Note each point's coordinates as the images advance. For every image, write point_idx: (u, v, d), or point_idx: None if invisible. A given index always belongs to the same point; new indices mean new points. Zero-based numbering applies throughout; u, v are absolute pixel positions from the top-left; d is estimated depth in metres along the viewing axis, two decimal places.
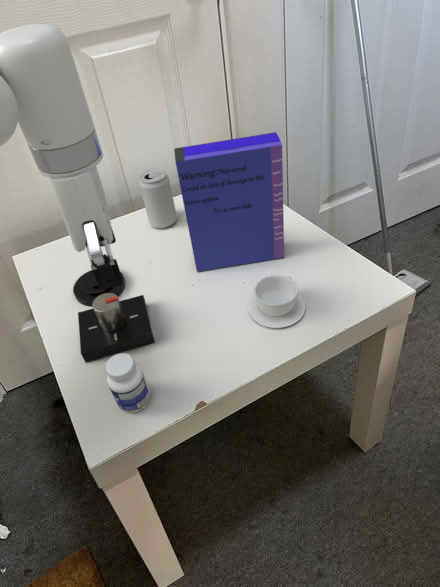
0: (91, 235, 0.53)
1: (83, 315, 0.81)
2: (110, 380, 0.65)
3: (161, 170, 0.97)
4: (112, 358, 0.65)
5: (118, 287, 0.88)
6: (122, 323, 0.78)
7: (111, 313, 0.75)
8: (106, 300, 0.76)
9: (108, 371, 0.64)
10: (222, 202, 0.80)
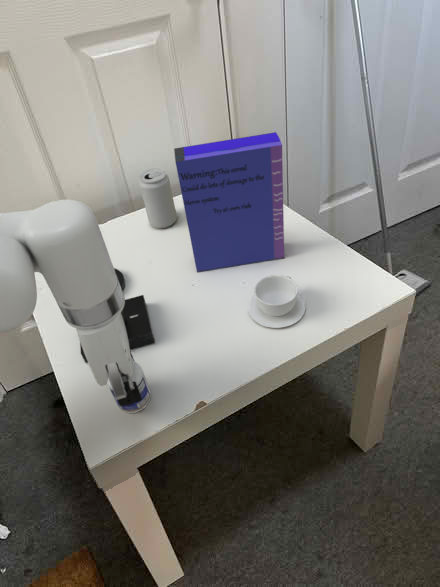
0: (115, 379, 0.57)
1: None
2: None
3: (161, 170, 0.97)
4: None
5: None
6: None
7: None
8: None
9: None
10: (222, 202, 0.80)
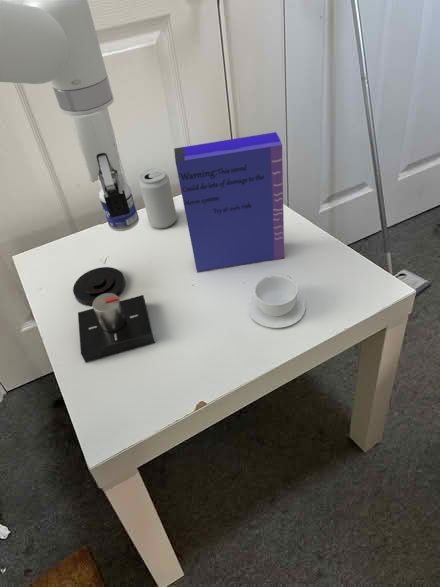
0: (105, 170, 0.65)
1: (83, 315, 0.81)
2: (102, 193, 0.73)
3: (161, 170, 0.97)
4: None
5: (118, 287, 0.88)
6: (122, 323, 0.78)
7: (111, 313, 0.75)
8: (106, 300, 0.76)
9: (100, 181, 0.72)
10: (222, 202, 0.80)
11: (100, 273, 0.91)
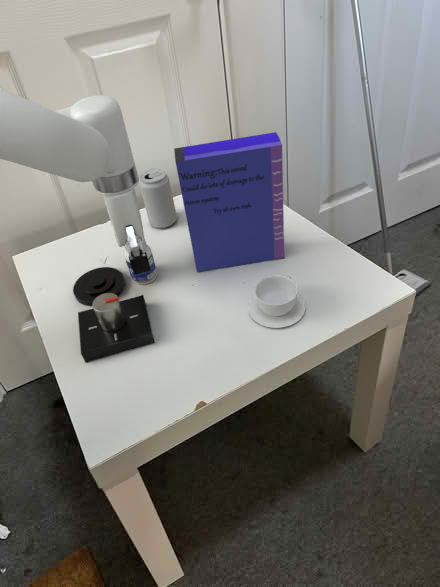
0: (131, 235, 0.76)
1: (83, 315, 0.81)
2: (127, 254, 0.86)
3: (161, 170, 0.97)
4: None
5: (118, 287, 0.88)
6: (122, 323, 0.78)
7: (111, 313, 0.75)
8: (106, 300, 0.76)
9: None
10: (222, 202, 0.80)
11: (100, 273, 0.91)
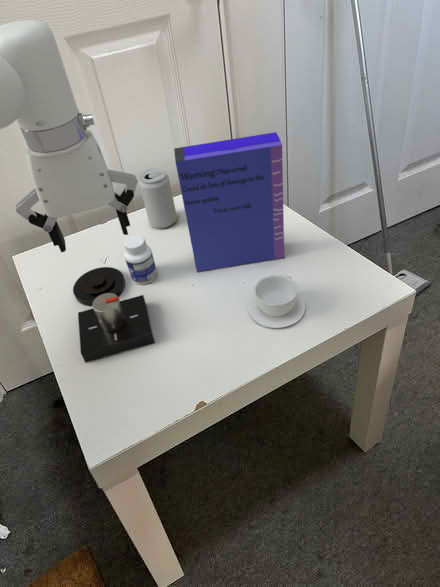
0: (27, 196, 0.63)
1: (83, 315, 0.81)
2: (127, 254, 0.86)
3: (161, 170, 0.97)
4: (128, 238, 0.86)
5: (118, 287, 0.88)
6: (122, 323, 0.78)
7: (111, 313, 0.75)
8: (106, 300, 0.76)
9: (126, 245, 0.84)
10: (222, 202, 0.80)
11: (100, 273, 0.91)
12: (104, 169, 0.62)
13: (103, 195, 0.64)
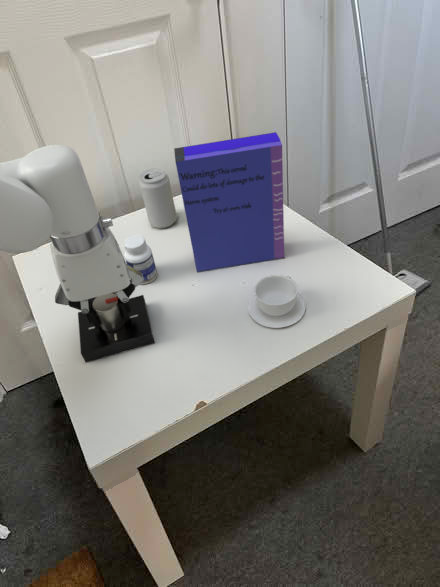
0: (59, 288, 0.71)
1: (83, 315, 0.81)
2: (127, 254, 0.86)
3: (161, 170, 0.97)
4: (128, 238, 0.86)
5: None
6: (122, 323, 0.78)
7: (111, 314, 0.75)
8: (106, 300, 0.76)
9: (126, 245, 0.84)
10: (222, 202, 0.80)
11: None
12: (121, 262, 0.69)
13: (119, 282, 0.71)
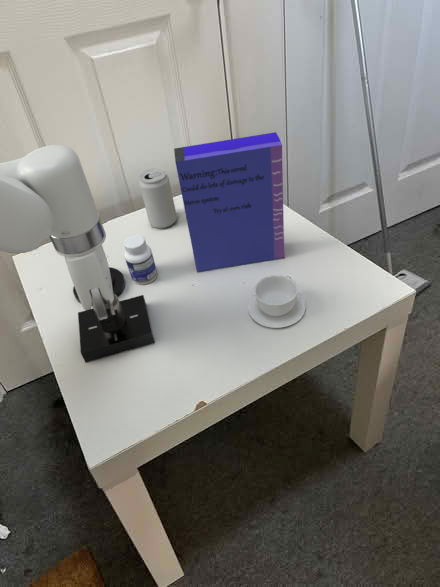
0: (98, 302, 0.68)
1: (83, 315, 0.81)
2: (127, 254, 0.86)
3: (161, 170, 0.97)
4: (128, 238, 0.86)
5: (118, 287, 0.88)
6: None
7: None
8: None
9: (126, 245, 0.84)
10: (222, 202, 0.80)
11: None
12: None
13: None
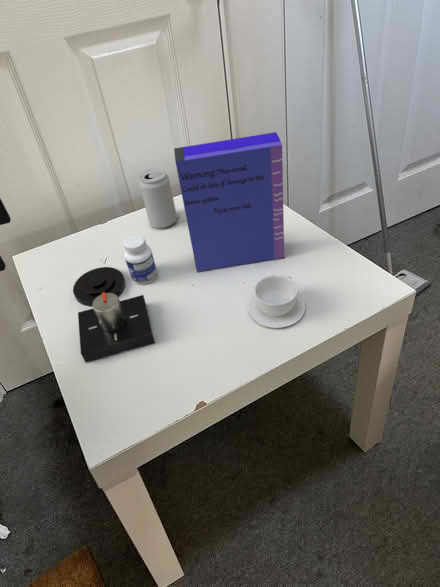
0: None
1: (83, 315, 0.81)
2: (127, 254, 0.86)
3: (161, 170, 0.97)
4: (128, 238, 0.86)
5: (118, 287, 0.88)
6: None
7: None
8: (104, 299, 0.76)
9: (126, 245, 0.84)
10: (222, 202, 0.80)
11: (100, 273, 0.91)
12: None
13: None
